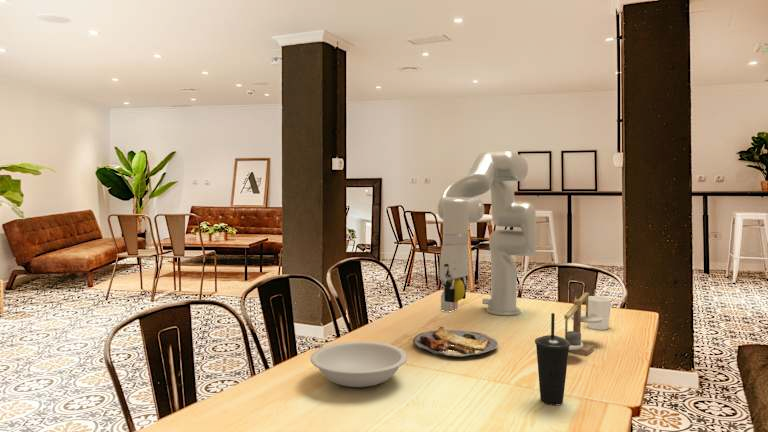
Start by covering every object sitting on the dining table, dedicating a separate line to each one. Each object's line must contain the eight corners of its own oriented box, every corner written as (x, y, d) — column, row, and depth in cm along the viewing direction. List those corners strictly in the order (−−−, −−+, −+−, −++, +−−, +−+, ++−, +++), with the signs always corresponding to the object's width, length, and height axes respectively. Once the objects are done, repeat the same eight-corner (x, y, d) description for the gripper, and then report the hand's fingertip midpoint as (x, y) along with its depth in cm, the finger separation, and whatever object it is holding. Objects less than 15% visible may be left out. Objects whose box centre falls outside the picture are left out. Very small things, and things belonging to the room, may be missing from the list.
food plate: (398, 346, 159) (398, 335, 159) (444, 331, 177) (444, 321, 176) (467, 368, 143) (468, 355, 142) (511, 349, 160) (511, 337, 159)
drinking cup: (528, 394, 123) (530, 309, 122) (560, 393, 123) (562, 309, 122) (541, 408, 115) (542, 318, 114) (575, 407, 116) (577, 317, 115)
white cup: (606, 324, 184) (606, 296, 184) (613, 330, 176) (614, 301, 176) (582, 324, 185) (583, 295, 184) (589, 330, 177) (589, 300, 177)
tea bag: (440, 311, 204) (441, 285, 204) (449, 307, 210) (449, 282, 209) (449, 312, 202) (449, 286, 202) (457, 309, 208) (458, 284, 207)
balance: (544, 359, 148) (544, 303, 147) (576, 337, 169) (577, 288, 168) (576, 365, 142) (577, 307, 141) (605, 342, 163) (607, 291, 162)
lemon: (466, 301, 160) (466, 275, 160) (462, 305, 155) (462, 278, 155) (448, 300, 162) (448, 274, 162) (444, 304, 157) (444, 277, 156)
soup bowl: (373, 409, 115) (373, 380, 115) (290, 387, 128) (289, 360, 127) (424, 375, 135) (424, 350, 135) (348, 359, 148) (348, 336, 148)
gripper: (459, 237, 167) (459, 293, 168) (428, 241, 153) (428, 303, 154) (480, 238, 162) (480, 296, 163) (451, 243, 149) (450, 307, 150)
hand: (455, 299), depth 159 cm, fingers closed on lemon, 5 cm apart
